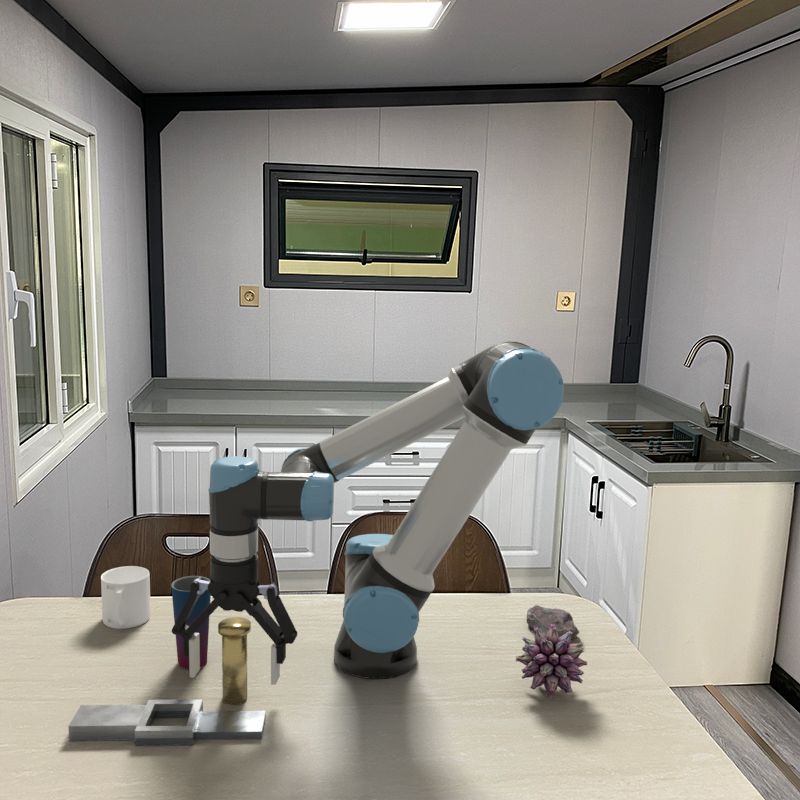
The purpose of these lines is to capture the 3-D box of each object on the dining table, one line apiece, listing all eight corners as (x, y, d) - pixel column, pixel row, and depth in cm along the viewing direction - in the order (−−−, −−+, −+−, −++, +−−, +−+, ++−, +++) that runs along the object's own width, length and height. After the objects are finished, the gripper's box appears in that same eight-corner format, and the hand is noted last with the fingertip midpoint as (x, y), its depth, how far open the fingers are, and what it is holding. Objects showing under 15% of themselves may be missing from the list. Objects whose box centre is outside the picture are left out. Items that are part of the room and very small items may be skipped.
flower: (562, 721, 127) (567, 652, 125) (501, 692, 135) (504, 627, 133) (597, 693, 136) (603, 628, 134) (538, 668, 144) (542, 606, 142)
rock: (551, 617, 165) (553, 596, 164) (584, 641, 155) (585, 620, 154) (518, 623, 162) (519, 602, 161) (548, 648, 152) (550, 626, 151)
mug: (115, 607, 163) (114, 564, 161) (157, 611, 162) (156, 567, 160) (86, 634, 151) (84, 588, 150) (132, 638, 150) (130, 591, 149)
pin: (254, 691, 133) (254, 618, 131) (245, 708, 128) (245, 632, 126) (224, 688, 134) (224, 616, 132) (214, 705, 129) (213, 630, 126)
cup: (201, 674, 138) (200, 593, 135) (165, 669, 139) (164, 588, 137) (218, 656, 145) (217, 578, 142) (183, 651, 146) (182, 574, 143)
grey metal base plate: (266, 712, 127) (266, 698, 127) (260, 744, 119) (260, 729, 118) (84, 714, 125) (83, 700, 125) (65, 746, 117) (65, 731, 116)
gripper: (316, 550, 129) (314, 671, 133) (168, 540, 132) (170, 659, 135) (305, 568, 122) (304, 695, 125) (149, 557, 124) (152, 682, 128)
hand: (234, 677), depth 130 cm, fingers open, 13 cm apart
